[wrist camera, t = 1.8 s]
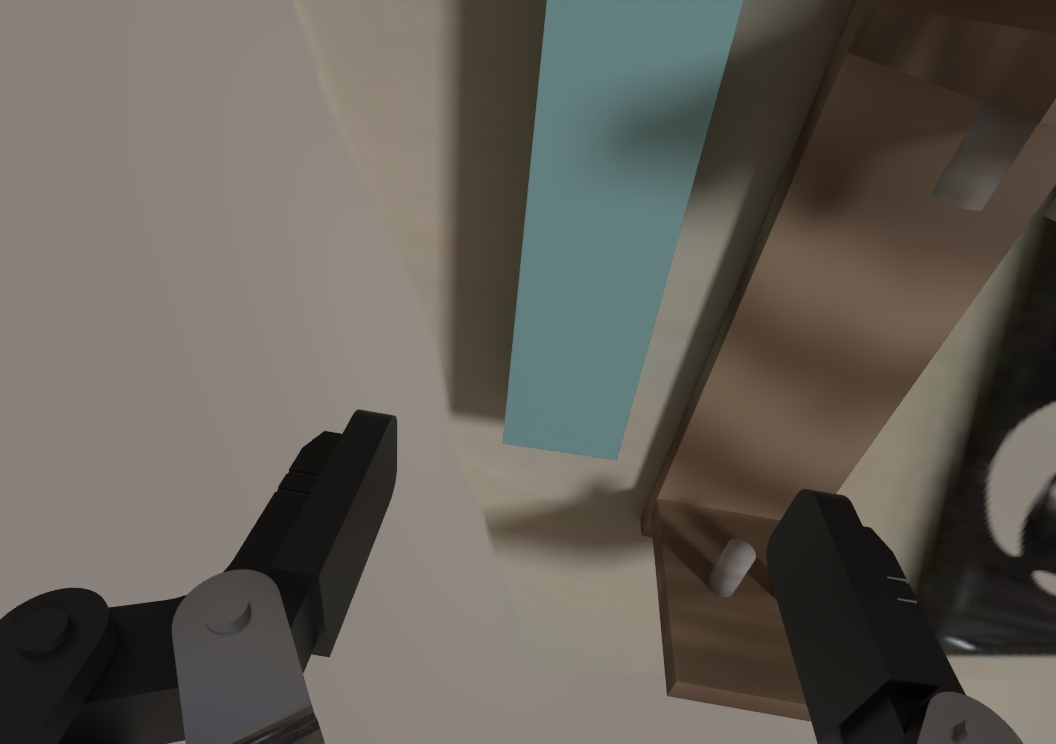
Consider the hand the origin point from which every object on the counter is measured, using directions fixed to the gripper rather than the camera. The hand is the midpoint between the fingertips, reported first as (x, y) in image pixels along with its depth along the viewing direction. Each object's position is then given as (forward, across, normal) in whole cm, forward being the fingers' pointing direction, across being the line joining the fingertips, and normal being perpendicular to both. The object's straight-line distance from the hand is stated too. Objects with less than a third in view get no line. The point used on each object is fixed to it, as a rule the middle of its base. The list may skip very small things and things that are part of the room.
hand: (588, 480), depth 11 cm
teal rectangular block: (+13, 0, 0) cm, 13 cm away
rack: (+13, -10, +3) cm, 17 cm away
